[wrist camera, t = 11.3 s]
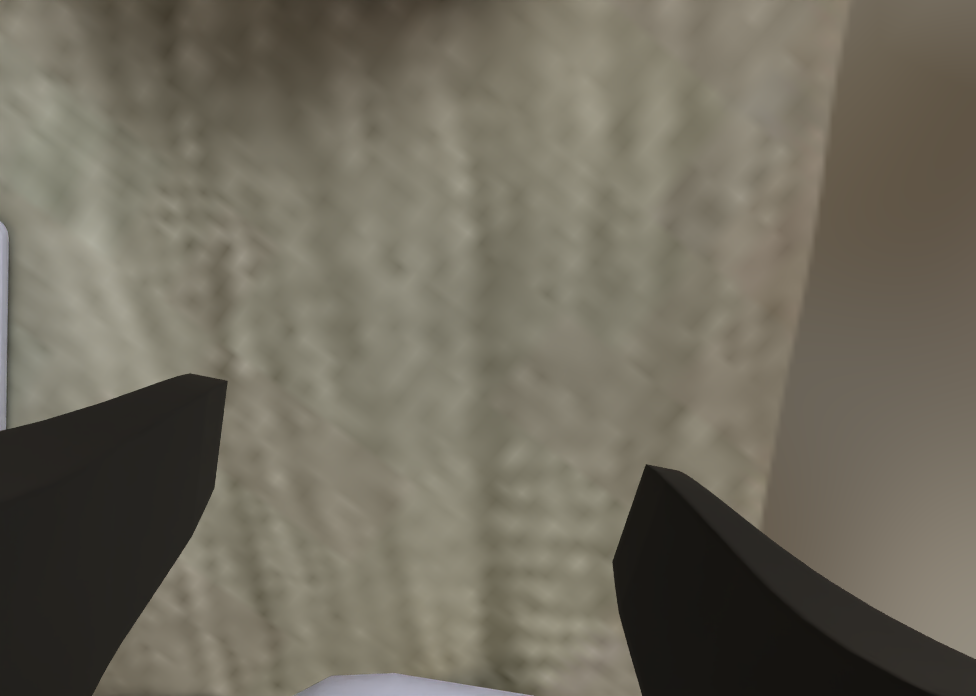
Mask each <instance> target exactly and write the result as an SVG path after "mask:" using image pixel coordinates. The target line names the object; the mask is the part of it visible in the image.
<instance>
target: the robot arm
mask: <svg viewBox="0 0 976 696" xmlns="http://www.w3.org/2000/svg"><path fill="white" fill-rule="evenodd" d="M8 263H9V236H8V230H7V229H6V227H5V226H4V224H3V223H2V222H1V221H0V696H92V695H93V693H94V691H95V689H96V687H97V685H98V683H99V681H100V679H101V677H102V675H103V674H104V672H105V670H106V668H107V666H108V665H109V663H110V661H111V660H112V658H113V656H114V655H115V653H116V651H117V650H118V648H119V646H120V645H121V643H122V641H123V640H124V638H125V637H126V635H127V634H128V632H129V631H130V629H131V628H132V626H133V625H134V623H135V622H136V620H137V619H138V617H139V616H140V614H141V613H142V611H143V610H144V608H145V607H146V605H147V604H148V602H149V601H150V599H151V598H152V596H153V595H154V593H155V592H156V590H157V589H158V587H159V586H160V584H161V583H162V581H163V580H164V578H165V577H166V575H167V574H168V572H169V571H170V569H171V568H172V566H173V565H174V563H175V562H176V560H177V558H178V557H179V555H180V554H181V552H182V551H183V549H184V548H185V546H186V545H187V543H188V541H189V540H190V538H191V537H192V535H193V533H194V531H195V529H196V527H197V524H198V522H199V520H200V518H201V516H202V514H203V512H204V510H205V508H206V505H207V503H208V501H209V499H210V497H211V494H212V492H213V490H214V487H215V478H216V470H217V462H218V454H219V446H220V438H221V430H222V422H223V414H224V406H225V398H226V389H227V381H225V380H220V379H215V378H210V377H205V376H200V375H195V374H185V375H181V376H177V377H174V378H171V379H168V380H165V381H162V382H159V383H156V384H153V385H150V386H148V387H145V388H142V389H139V390H136V391H134V392H131V393H128V394H125V395H122V396H119V397H117V398H114V399H111V400H108V401H105V402H102V403H99V404H96V405H93V406H90V407H86V408H83V409H80V410H76V411H73V412H70V413H67V414H63V415H60V416H57V417H53V418H50V419H47V420H43V421H40V422H36V423H32V424H28V425H24V426H20V427H16V428H12V429H7V430H6V401H7V332H8ZM613 571H614V580H615V589H616V596H617V603H618V610H619V615H620V618H621V622H622V626H623V630H624V633H625V637H626V640H627V644H628V648H629V651H630V655H631V658H632V662H633V665H634V668H635V672H636V675H637V679H638V682H639V686H640V689H641V693H642V696H976V659H974V658H971V657H969V656H967V655H965V654H963V653H961V652H959V651H957V650H954V649H952V648H950V647H948V646H946V645H944V644H942V643H940V642H937V641H935V640H934V639H932V638H930V637H928V636H925V635H924V634H922V633H920V632H918V631H916V630H914V629H912V628H910V627H908V626H907V625H905V624H903V623H901V622H899V621H897V620H895V619H893V618H891V617H889V616H888V615H885V614H884V613H882V612H880V611H879V610H877V609H875V608H873V607H871V606H869V605H868V604H866V603H865V602H863V601H862V600H860V599H858V598H857V597H855V596H853V595H852V594H850V593H849V592H847V591H845V590H844V589H842V588H840V587H839V586H837V585H835V584H834V583H832V582H831V581H829V580H828V579H826V578H825V577H823V576H822V575H820V574H819V573H817V572H816V571H814V570H813V569H811V568H810V567H808V566H807V565H806V564H804V563H803V562H801V561H800V560H798V559H797V558H796V557H794V556H793V555H792V554H790V553H789V552H787V551H786V550H785V549H783V548H782V547H780V546H779V545H778V544H776V543H775V542H774V541H772V540H771V539H770V538H768V537H767V536H766V535H765V534H763V533H762V532H761V531H759V530H758V529H757V528H756V527H754V526H753V525H752V524H750V523H749V522H748V521H747V520H745V519H744V518H743V517H742V516H740V515H739V514H738V513H737V512H735V511H734V510H733V509H731V508H730V507H729V506H728V505H726V504H725V503H724V502H723V501H721V500H720V499H719V498H718V497H716V496H715V495H714V494H712V493H711V492H710V491H709V490H707V489H706V488H705V487H703V486H702V485H701V484H699V483H698V482H696V481H695V480H694V479H692V478H691V477H689V476H687V475H686V474H684V473H682V472H680V471H677V470H672V469H667V468H662V467H657V466H652V465H647V464H646V466H645V469H644V472H643V474H642V477H641V480H640V483H639V486H638V489H637V492H636V495H635V498H634V501H633V503H632V506H631V509H630V512H629V515H628V518H627V521H626V524H625V527H624V530H623V532H622V535H621V538H620V541H619V544H618V547H617V550H616V553H615V556H614V559H613ZM293 696H532V695H526V694H520V693H514V692H508V691H502V690H496V689H489V688H483V687H477V686H471V685H465V684H459V683H453V682H447V681H441V680H434V679H428V678H422V677H416V676H410V675H404V674H398V673H382V674H359V675H336V676H329V677H328V678H326V679H324V680H322V681H320V682H318V683H316V684H314V685H312V686H311V687H309V688H307V689H305V690H303V691H301V692H299V693H297V694H295V695H293Z"/></svg>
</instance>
